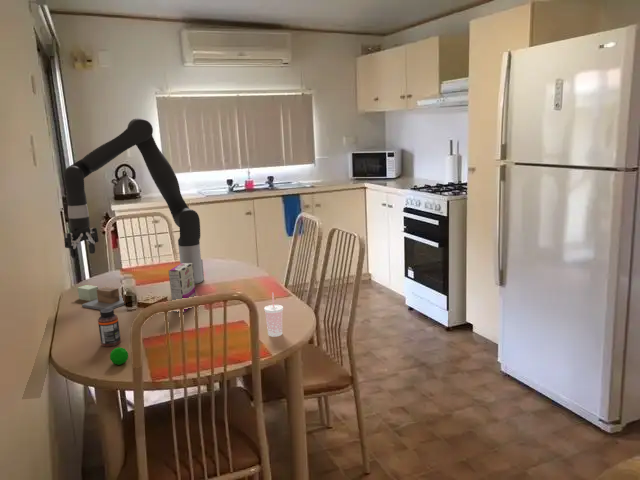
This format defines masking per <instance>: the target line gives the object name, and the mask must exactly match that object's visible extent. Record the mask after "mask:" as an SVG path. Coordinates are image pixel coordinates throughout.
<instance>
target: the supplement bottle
mask: <svg viewBox="0 0 640 480" xmlns="http://www.w3.org/2000/svg"><path fill="white" fill-rule="evenodd" d="M99 315H100V316H99V317H98V318H97V325H98V331H99V338H100V339H99V340H100V344H101V346H103V347H114V346H117V345H119V344H120V343H121V342H122V339H121V331H120V324H119V317H118V315H117V314H115V310H114V309H112V308H107V309H103V310H99Z"/></svg>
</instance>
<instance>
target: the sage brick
mask: <svg viewBox="0 0 640 480" xmlns="http://www.w3.org/2000/svg"><path fill="white" fill-rule="evenodd" d="M98 289H99V286H97V285H91V284H86V285H82V286H79V287H77V294H78V299H79V300H81V301H87V302H90V301H93V300H96V299H98V297H97V290H98Z"/></svg>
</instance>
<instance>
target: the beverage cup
mask: <svg viewBox="0 0 640 480" xmlns="http://www.w3.org/2000/svg"><path fill="white" fill-rule="evenodd" d="M274 296H275V295H274V292H271V297H272V304H270V305H266V306H264V309H263V310H264V312H265V319H266V326H267V327H266V328H267V335H268V336H269V337H272V338H274V337H280V336H282V335H283V311H284V306H283V305H280V304H275V297H274Z"/></svg>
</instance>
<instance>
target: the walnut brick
mask: <svg viewBox="0 0 640 480" xmlns="http://www.w3.org/2000/svg"><path fill="white" fill-rule="evenodd" d="M119 296H120V291H119V288H118V287H110V286H104V287H101V288H98V290H97V297H98V302H102V303H109V304H112V303H114V302H117V301H119V300H120V298H119Z"/></svg>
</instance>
